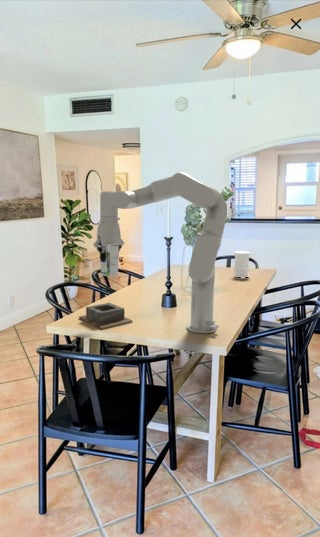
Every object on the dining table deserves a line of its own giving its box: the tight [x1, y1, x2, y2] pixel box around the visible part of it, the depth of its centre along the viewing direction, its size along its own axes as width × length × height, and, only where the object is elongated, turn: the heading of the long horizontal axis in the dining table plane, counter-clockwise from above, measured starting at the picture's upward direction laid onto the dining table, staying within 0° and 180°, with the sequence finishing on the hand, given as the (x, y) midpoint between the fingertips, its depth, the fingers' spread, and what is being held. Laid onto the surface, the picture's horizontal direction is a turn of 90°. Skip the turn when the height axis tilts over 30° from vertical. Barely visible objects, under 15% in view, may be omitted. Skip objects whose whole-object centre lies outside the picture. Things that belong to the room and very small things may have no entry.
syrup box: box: [100, 243, 119, 278], centre depth 172 cm, size 6×6×14 cm
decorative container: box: [232, 250, 251, 278], centre depth 279 cm, size 12×12×18 cm
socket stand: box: [78, 302, 133, 330], centre depth 178 cm, size 20×16×6 cm
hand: (109, 260), depth 172 cm, fingers closed on syrup box, 6 cm apart
